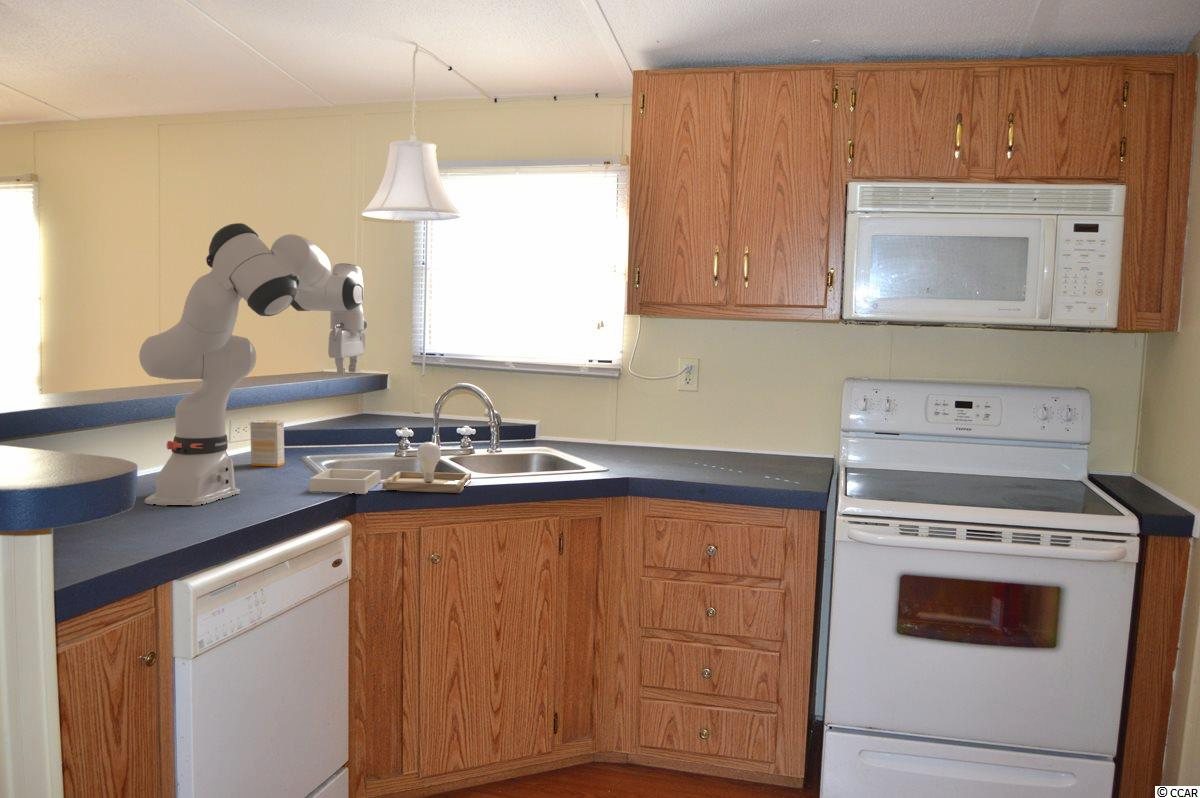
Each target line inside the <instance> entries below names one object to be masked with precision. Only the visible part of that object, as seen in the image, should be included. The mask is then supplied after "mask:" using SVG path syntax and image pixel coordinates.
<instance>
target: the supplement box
mask: <svg viewBox="0 0 1200 798" xmlns="http://www.w3.org/2000/svg"><path fill="white" fill-rule="evenodd" d="M284 422H285V421H284V420H272V419H271V420H270V419H269V420H268V419H267V420H265V419H257V420H256V419H255V420H253V421H250V422H249V424H250V463H251V465H250V466H251V467H273V468H276V467H277V468H278V467H281V466H284V465H285V430H284V429H285V427H284V426H285V425H284Z"/></svg>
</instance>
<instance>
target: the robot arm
mask: <svg viewBox="0 0 1200 798" xmlns="http://www.w3.org/2000/svg"><path fill="white" fill-rule="evenodd" d="M205 261H206V265H207V266H208V267H209V268H211V271H209V273H206V274H204V275H202V276H200V277H199V278H197V280H195V282H193V284H192V287H191V288H190V289H189V291H188V294H187V295H186V299H185V302H184V306H183V310H182V315H181V317H180V319H179V322H177V323H176V324H175V325H173V326H172V327H171V328H169V329H167V330H165V331H164V332H161V333H158V334H155V335H151V336H149V337H147V338H146V339H145V340H144V342H143V343H142V345H141V347H140V350H139V353H138V354H139V355H138V358H139V363H140V366H141V368H142V369H143V371H144V372H145V373H146V374H147V375H148V376H149V377H153V378H157V379H165V380H170V381H171V380H172V381H173V380H202V383H201V386H200V387H199V389H198V390H196V391H194V392H192V393H189V394H188V395H186V396H184V397H182V398H181V399H179V401H178V402H177V403H176V405H175V409H174V410H175V411H174V415H175V416H174V417H175V421H174V422H175V436H173V439H172V440H169V441H167V442H166V449H167V450H171V451H170V452H171V455H170V456H169V459H167V460H166V463H165V464H164V465H163V467H162V468H161V470H160V471H159V473H158V475H157V477H156V482H155V484H156V485H155V488H156V490H155V492H154V493H153V494H150V495H149V496H147V497H146V498H144V503H145V504H146V505H147V504H148V505H153V504H156V505H155V506H167V505H192V506H202V505H201V504H203V505H207V504H209V503H212V502H216V500H217V501H219V500H218V499H220V500H223V499H225V498H229V497H232V495H233V496H236V495H239V494H241V489H240V487H239V488H238V487H236V482H235V471H234V461H233V459H232V458H231V457H230V455H228V452H227V450H228V444H229V440H228V435H227V434H226V416H227V415H226V413H227V405H228V401H229V398H230V395H231V393H232V391H233V390H234V388H235V387H236V386H237V385H238V384H239V383H240V382H241V381H242V380H243V379H244V378H245V377H247V376H249V375H250V373H251V372H252V371H253V370H254V368H255V366H256V363H257V353H256V348H255V346H254V345H253V342H251V341H250V339H249V338H247V337H244V336H238V335H233V332H234V328H235V326H236V325H235V324H236V322H237V318H238V314H239V305H240V301H241V300H242V299H243V300H244V301H245V302H246V303H247V306H248V307H249V308H250V310H252V311H254V313H256V314H257V315H259V316H261V317H272V316H275V315H278V314H280V313H282V312H284V311H285V310H286V309H287V308H289V307H292V308H293V309H295V311H297V312H310V311H313V312H315V311H316V312H319V311H320V312H321V311H322V312H330V314H329V315H330V316H329V317H330V321H329V323H330V327H329V328H330V329H331V330H330V332H329V335H328V336H329V337H328V347H327V348H328V349H327V351H328V352H327V353H328V358H330V359H334V363H335V366H336V374H337V375H345V373H346V367H345V358H349V365H348V373H356V372H357V365H358V362H359V356H363V355H364V353H365V350H366V339H367V338H366V337H367V335H366V332H367V331H366V330H368V322H367V321H366V320H365V317H364V315H365V314H364V309H363V302H364V296H365V295H364V293H365V292H364V277H363V272H362V269H361V267H360V266H358V265H356V264H351V263H337V264H334V265H333V267H332V265H331V260H330V259H329V257H328V256H327V254H326V252H324V251H323V250H322V249H321V248H320V247H319V246H317V244H315V243H314V242H313V241H311V240H309V239H308V238H306V237H303V236H301V235H297V234H293V233H291V234H284V235H282V236H279V237H278V238H277V239H275V241H274V242H273V243H272V246H271V248H269V247H268V246H267V245H266V243H265V242H263V240H262V239H261V238H260V237H259V234H258V233H257V232H256V231H255V230H254V229H253V228H251V227H250V226H248V225H247V224H245V223H242V222H241V223H239V222H238V223H237V222H234V223H231V224H228V225H225V226H223V227H221V228H220V229H219V230H217V231H216V232H215V234H213V237H212V238H211V241H210V245H209V247H208V255H207V256H206V260H205ZM235 494H236V495H235ZM222 498H223V499H222ZM206 503H207V504H206Z"/></svg>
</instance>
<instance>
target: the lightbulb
mask: <svg viewBox="0 0 1200 798" xmlns="http://www.w3.org/2000/svg"><path fill="white" fill-rule="evenodd" d="M441 457H442V450H441V448H440V446H439V445H438V444H437V443H435V442H433V441H425V442H423V443H422V444H420V445H419V446H418V448H417V450H416V458H417V461H418V462H419V464H420V465H421V469H422V472H424V481H425V482H426V483H431V482H432V481H434V479H433V478H434V472H435V470H436V466H437V465H438V463H439V461H440V459H441Z"/></svg>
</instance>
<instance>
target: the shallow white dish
mask: <svg viewBox="0 0 1200 798" xmlns="http://www.w3.org/2000/svg"><path fill="white" fill-rule="evenodd" d="M381 471H382V470H380V469H378V470H377V469H354V468H352V469H351V468H349V469H347V468H327V469H325V470H323V471H321V472H319V473H317V474H316V475H313V476H311V477H309V492H310V491H334V492H353V493H355V494H357V495H358V494H360V495H366V494H367V493H369V492H368V490H369V489H370V488H372V487H373V486H375V485H377V484H378V483H379V482H381V480H382V479H381V476H382V475H381V474H382V473H381ZM377 486H378V485H377ZM355 494H354V495H355Z"/></svg>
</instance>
